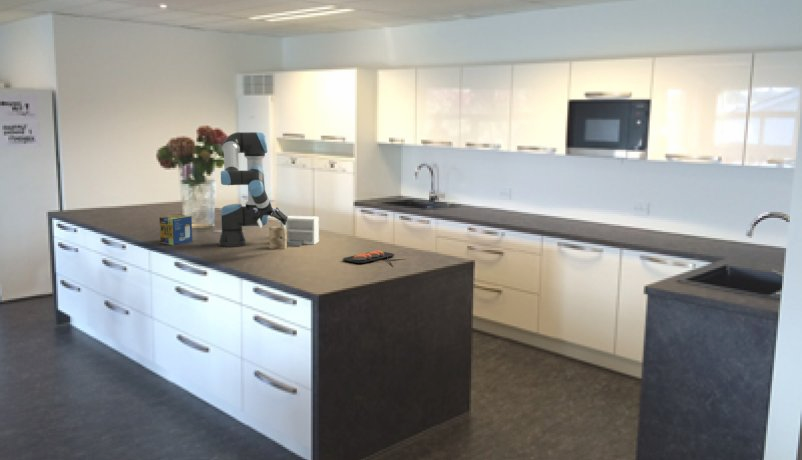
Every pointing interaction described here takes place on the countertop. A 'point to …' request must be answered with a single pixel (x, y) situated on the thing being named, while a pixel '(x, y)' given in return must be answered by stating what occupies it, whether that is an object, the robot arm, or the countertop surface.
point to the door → (278, 237)
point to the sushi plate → (370, 257)
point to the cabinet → (302, 230)
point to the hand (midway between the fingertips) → (273, 227)
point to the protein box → (176, 229)
